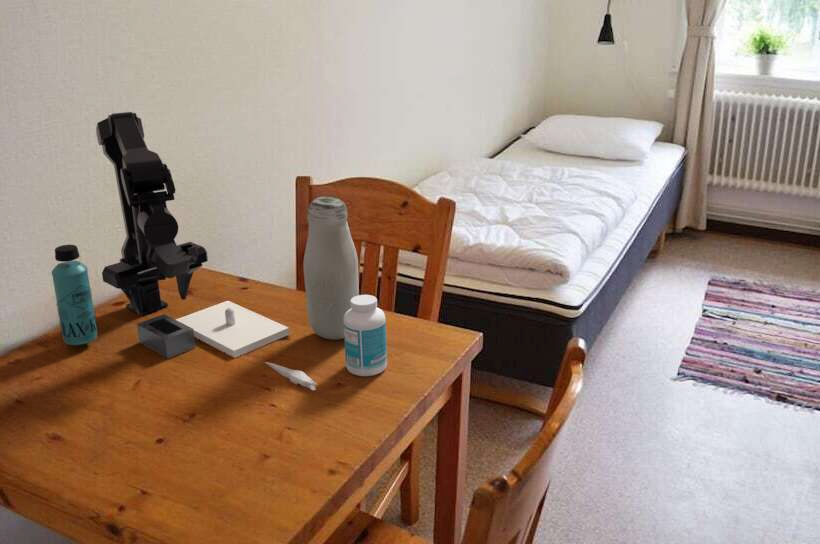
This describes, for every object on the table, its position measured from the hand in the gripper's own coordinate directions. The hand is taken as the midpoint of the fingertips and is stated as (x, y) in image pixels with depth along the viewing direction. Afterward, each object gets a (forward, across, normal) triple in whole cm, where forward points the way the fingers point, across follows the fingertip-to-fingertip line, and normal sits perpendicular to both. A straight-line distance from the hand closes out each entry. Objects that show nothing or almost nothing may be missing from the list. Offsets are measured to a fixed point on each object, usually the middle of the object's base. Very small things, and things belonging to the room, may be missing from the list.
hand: (162, 306), depth 152 cm
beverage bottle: (+8, -11, +12) cm, 18 cm away
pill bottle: (+8, +19, -35) cm, 41 cm away
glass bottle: (+8, +24, -21) cm, 33 cm away
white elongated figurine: (+8, +8, -27) cm, 30 cm away
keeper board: (+8, +12, -4) cm, 15 cm away
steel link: (+8, 0, 0) cm, 8 cm away
